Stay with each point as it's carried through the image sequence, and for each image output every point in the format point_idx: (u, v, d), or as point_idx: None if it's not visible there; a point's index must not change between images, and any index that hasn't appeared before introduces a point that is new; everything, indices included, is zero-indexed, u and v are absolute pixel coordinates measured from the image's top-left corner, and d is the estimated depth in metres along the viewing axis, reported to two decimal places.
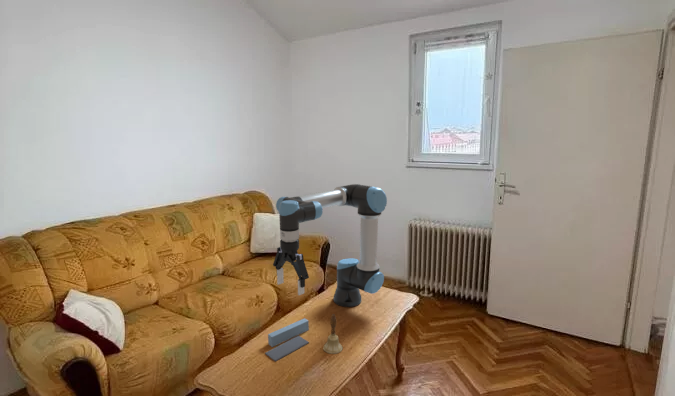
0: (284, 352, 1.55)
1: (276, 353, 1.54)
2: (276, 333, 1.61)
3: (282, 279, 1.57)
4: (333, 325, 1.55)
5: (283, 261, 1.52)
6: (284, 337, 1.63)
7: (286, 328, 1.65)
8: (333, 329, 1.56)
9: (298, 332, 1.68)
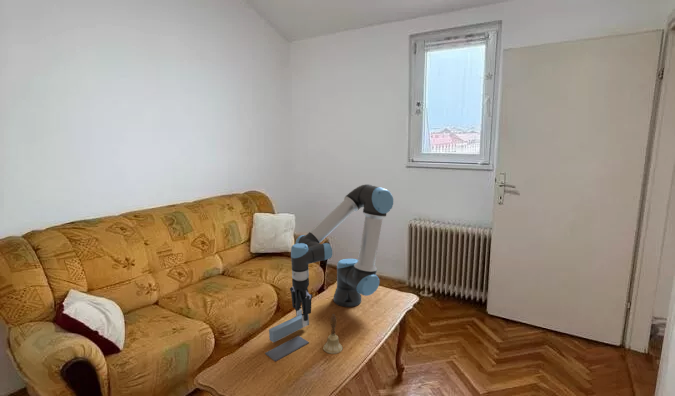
0: (284, 352, 1.55)
1: (276, 353, 1.54)
2: (277, 328, 1.61)
3: None
4: (333, 325, 1.55)
5: (298, 299, 1.70)
6: (284, 332, 1.63)
7: (287, 323, 1.65)
8: (333, 329, 1.56)
9: (298, 326, 1.68)
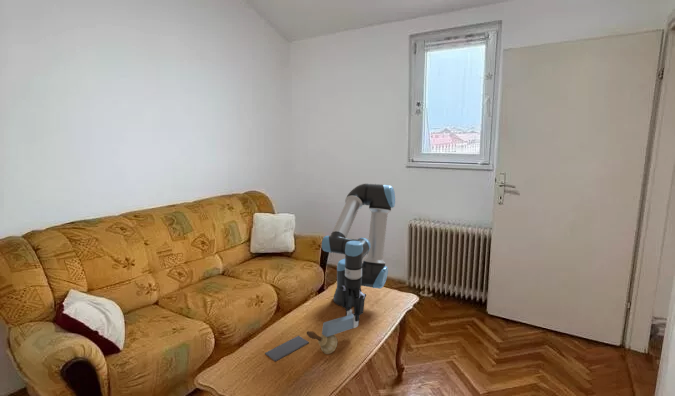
0: (284, 352, 1.55)
1: (276, 353, 1.54)
2: (331, 322, 1.55)
3: None
4: (314, 338, 1.48)
5: (349, 299, 1.64)
6: (337, 328, 1.57)
7: (340, 319, 1.59)
8: (317, 339, 1.50)
9: (349, 325, 1.62)
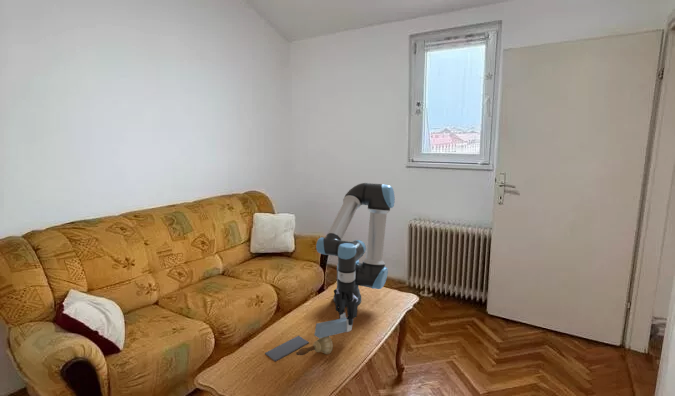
0: (284, 352, 1.55)
1: (276, 353, 1.54)
2: (324, 324, 1.52)
3: None
4: (306, 353, 1.46)
5: (343, 302, 1.62)
6: (330, 330, 1.54)
7: (333, 322, 1.56)
8: (310, 350, 1.48)
9: (343, 329, 1.60)
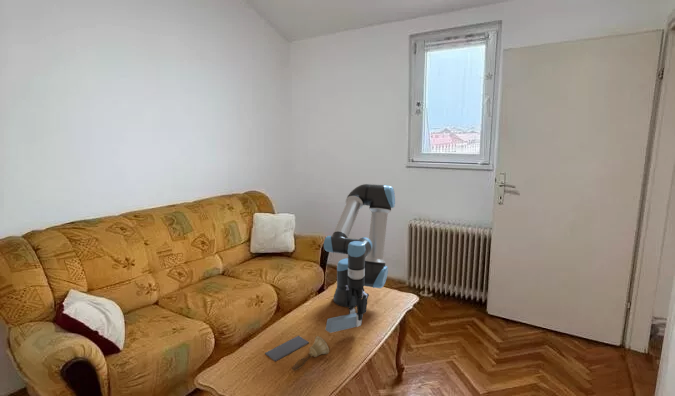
0: (284, 352, 1.55)
1: (276, 353, 1.54)
2: (335, 319, 1.57)
3: None
4: (303, 364, 1.47)
5: (353, 298, 1.66)
6: (341, 325, 1.59)
7: (343, 317, 1.62)
8: (306, 360, 1.48)
9: (352, 324, 1.65)
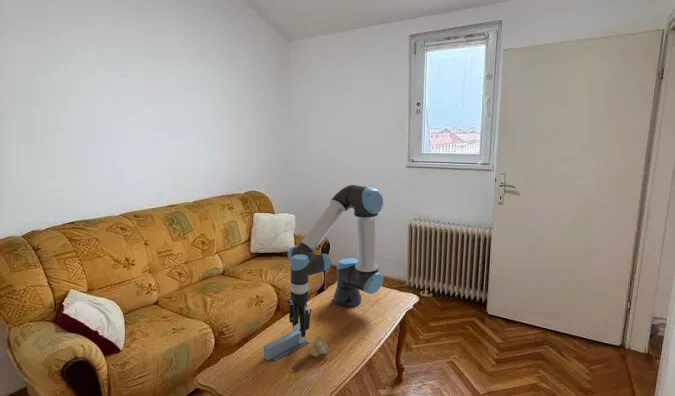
0: (284, 352, 1.55)
1: None
2: (272, 345, 1.51)
3: None
4: (303, 364, 1.47)
5: (296, 314, 1.61)
6: (280, 349, 1.53)
7: (282, 339, 1.56)
8: (306, 360, 1.48)
9: (295, 342, 1.59)
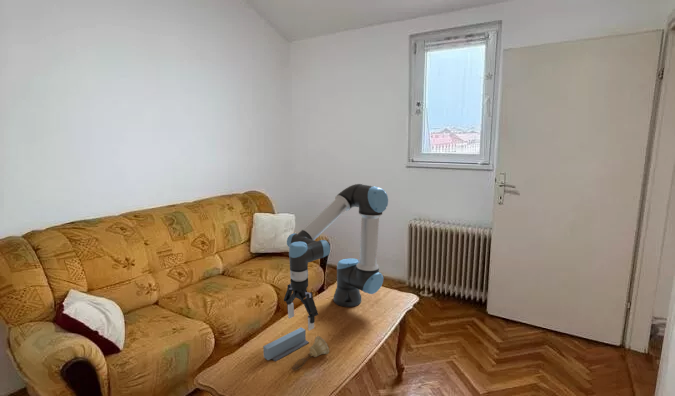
0: (284, 352, 1.55)
1: None
2: (272, 345, 1.51)
3: (292, 313, 1.66)
4: (303, 364, 1.47)
5: (293, 297, 1.62)
6: (280, 349, 1.53)
7: (282, 339, 1.56)
8: (306, 360, 1.48)
9: (294, 342, 1.59)
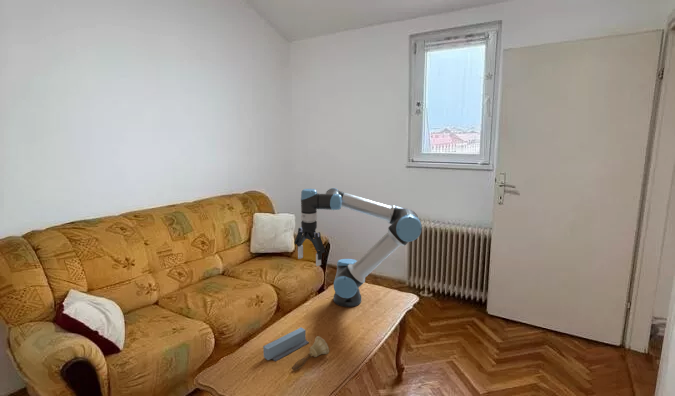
0: (284, 352, 1.55)
1: None
2: (272, 345, 1.51)
3: (302, 255, 1.89)
4: (303, 364, 1.47)
5: (303, 239, 1.85)
6: (280, 349, 1.53)
7: (282, 339, 1.56)
8: (306, 360, 1.48)
9: (294, 342, 1.59)
